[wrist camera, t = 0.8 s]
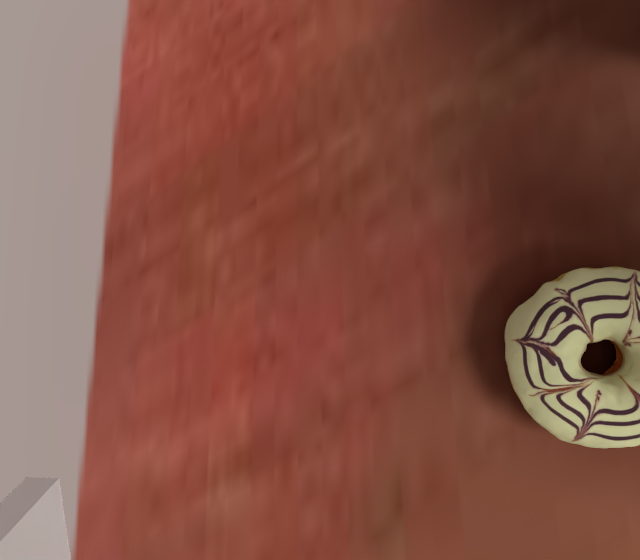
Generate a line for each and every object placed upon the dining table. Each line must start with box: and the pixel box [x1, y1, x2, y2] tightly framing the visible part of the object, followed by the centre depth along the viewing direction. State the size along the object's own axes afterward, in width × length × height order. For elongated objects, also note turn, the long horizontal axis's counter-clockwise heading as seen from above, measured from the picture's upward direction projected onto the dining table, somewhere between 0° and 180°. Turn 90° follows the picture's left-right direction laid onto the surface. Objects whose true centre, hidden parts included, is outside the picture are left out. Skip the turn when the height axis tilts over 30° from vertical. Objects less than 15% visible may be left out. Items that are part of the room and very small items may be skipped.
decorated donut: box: [505, 266, 640, 448], centre depth 29 cm, size 10×11×4 cm
